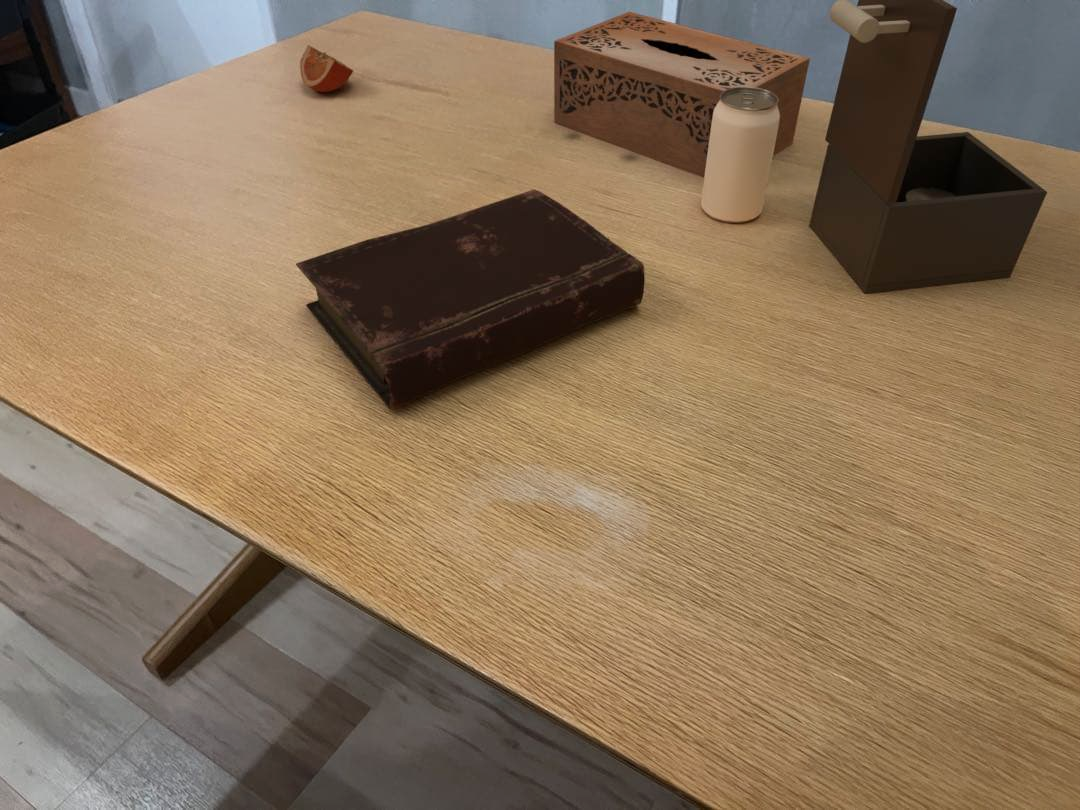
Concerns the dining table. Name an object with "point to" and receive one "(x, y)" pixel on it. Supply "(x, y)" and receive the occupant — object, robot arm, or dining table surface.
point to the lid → (886, 83)
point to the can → (740, 154)
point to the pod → (927, 194)
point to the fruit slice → (323, 71)
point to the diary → (468, 292)
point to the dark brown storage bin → (928, 217)
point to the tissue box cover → (665, 85)
